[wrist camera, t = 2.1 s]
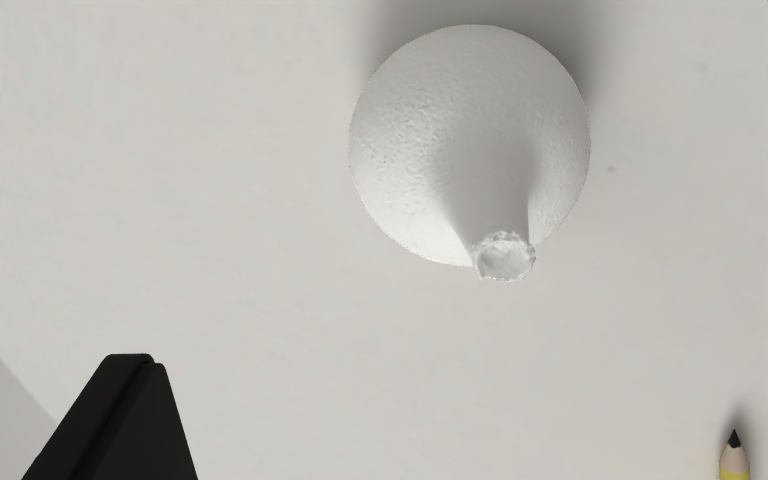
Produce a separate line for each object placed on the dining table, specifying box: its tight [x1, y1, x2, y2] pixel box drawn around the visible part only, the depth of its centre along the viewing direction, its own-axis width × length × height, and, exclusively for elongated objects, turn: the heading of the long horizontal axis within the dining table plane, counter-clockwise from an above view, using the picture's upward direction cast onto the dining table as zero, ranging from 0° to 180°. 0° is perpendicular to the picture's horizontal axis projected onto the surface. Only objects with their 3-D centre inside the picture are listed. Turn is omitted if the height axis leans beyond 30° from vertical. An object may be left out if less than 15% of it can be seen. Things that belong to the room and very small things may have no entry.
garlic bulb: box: [348, 24, 591, 282], centre depth 16 cm, size 6×6×8 cm
